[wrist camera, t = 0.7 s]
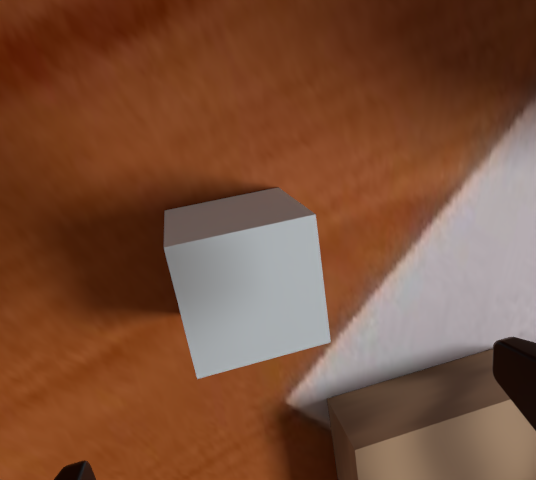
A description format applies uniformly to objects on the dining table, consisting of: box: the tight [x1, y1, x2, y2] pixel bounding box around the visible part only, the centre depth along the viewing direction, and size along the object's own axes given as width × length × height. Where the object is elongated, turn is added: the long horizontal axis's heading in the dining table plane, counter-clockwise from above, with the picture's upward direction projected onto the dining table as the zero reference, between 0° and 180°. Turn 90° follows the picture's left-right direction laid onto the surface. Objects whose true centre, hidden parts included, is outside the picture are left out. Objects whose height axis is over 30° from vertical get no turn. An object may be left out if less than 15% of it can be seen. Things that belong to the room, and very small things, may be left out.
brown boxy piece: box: [327, 349, 536, 480], centre depth 24 cm, size 11×11×4 cm
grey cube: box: [164, 188, 331, 379], centre depth 16 cm, size 5×5×5 cm
